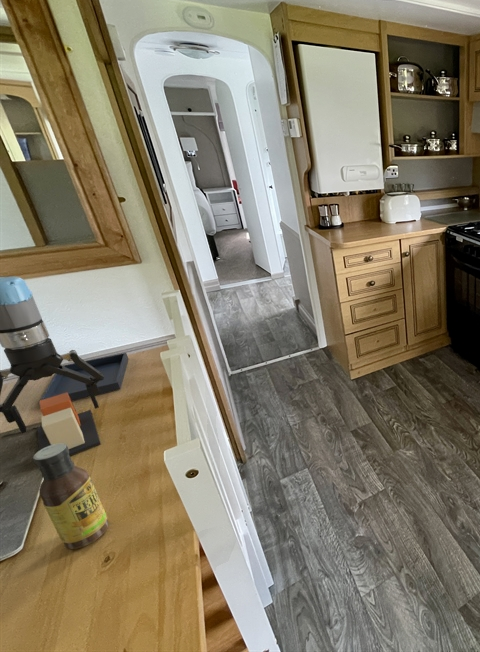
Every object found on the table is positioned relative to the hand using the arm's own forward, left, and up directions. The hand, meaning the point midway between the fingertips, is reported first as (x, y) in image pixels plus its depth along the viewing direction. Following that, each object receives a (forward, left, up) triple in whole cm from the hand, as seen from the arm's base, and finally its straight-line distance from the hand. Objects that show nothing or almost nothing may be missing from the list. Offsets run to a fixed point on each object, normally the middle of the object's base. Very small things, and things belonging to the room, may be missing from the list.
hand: (62, 417), depth 96 cm
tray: (-9, +22, -4) cm, 25 cm away
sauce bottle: (+27, -34, -4) cm, 43 cm away
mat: (+3, -4, -4) cm, 6 cm away
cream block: (+6, -7, -3) cm, 10 cm away
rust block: (0, 0, -3) cm, 3 cm away
